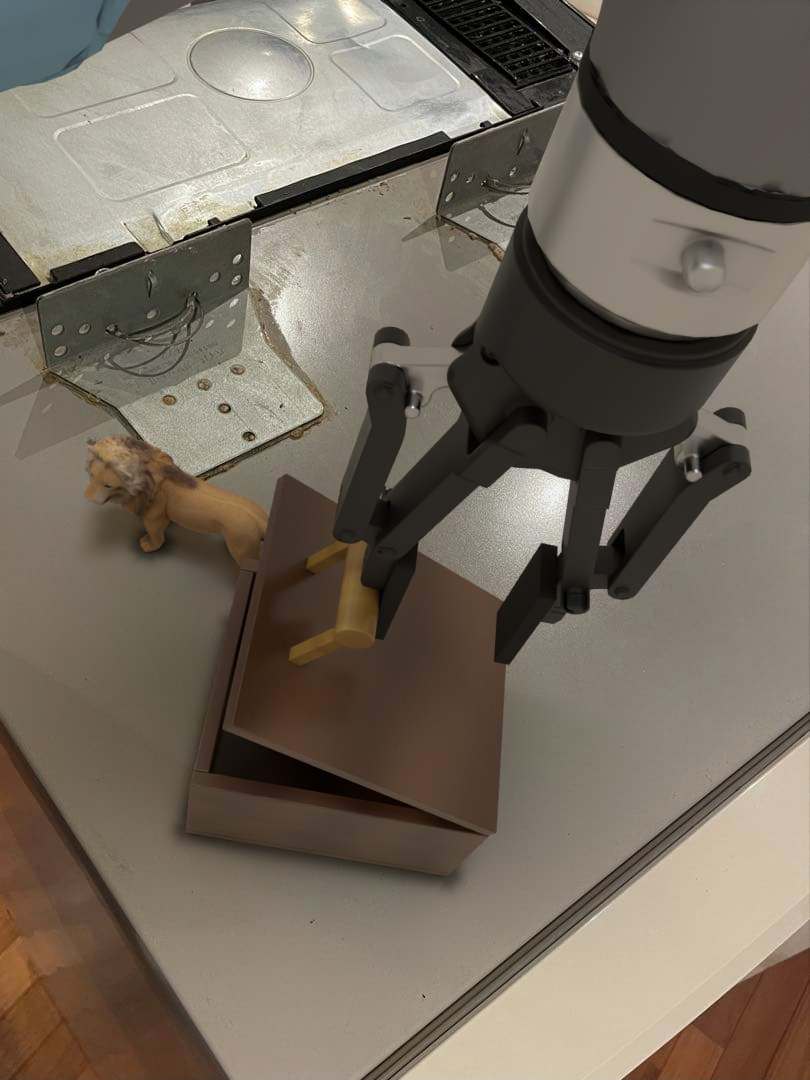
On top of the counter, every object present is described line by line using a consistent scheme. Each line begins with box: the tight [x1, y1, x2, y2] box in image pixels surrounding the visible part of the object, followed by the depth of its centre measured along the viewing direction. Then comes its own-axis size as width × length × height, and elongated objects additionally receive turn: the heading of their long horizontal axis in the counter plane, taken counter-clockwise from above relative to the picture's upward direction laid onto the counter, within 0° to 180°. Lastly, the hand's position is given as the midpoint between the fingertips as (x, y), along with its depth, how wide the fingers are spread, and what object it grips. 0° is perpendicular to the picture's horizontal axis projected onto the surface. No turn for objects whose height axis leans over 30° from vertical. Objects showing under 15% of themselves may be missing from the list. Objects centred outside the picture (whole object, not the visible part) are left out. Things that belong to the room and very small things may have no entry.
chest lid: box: [223, 473, 507, 836], centre depth 49 cm, size 16×14×6 cm
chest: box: [184, 558, 490, 877], centre depth 58 cm, size 16×14×9 cm
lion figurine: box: [82, 433, 269, 568], centre depth 63 cm, size 15×5×9 cm, turn 79°
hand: (441, 625), depth 47 cm, fingers open, 5 cm apart
